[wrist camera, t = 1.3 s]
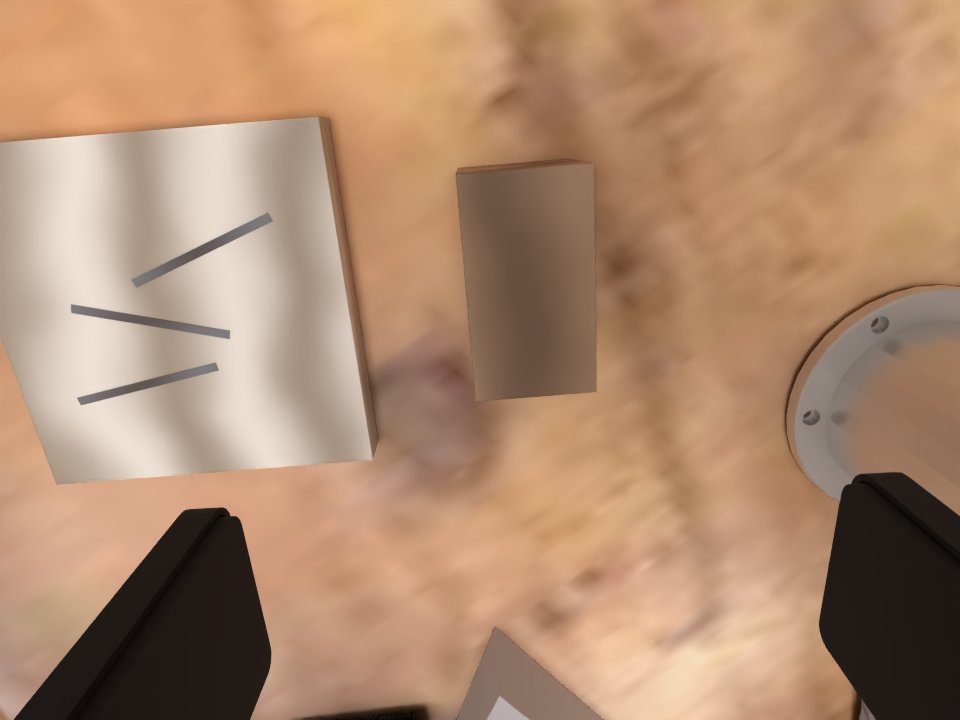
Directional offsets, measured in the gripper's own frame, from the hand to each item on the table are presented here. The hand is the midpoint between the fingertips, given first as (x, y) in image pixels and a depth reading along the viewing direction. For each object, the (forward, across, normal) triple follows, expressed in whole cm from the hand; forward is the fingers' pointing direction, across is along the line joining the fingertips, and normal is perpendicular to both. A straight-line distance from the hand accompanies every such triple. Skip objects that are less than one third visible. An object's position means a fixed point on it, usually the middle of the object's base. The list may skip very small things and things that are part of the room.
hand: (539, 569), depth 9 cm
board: (+20, +15, 0) cm, 25 cm away
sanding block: (+21, -1, -1) cm, 21 cm away
